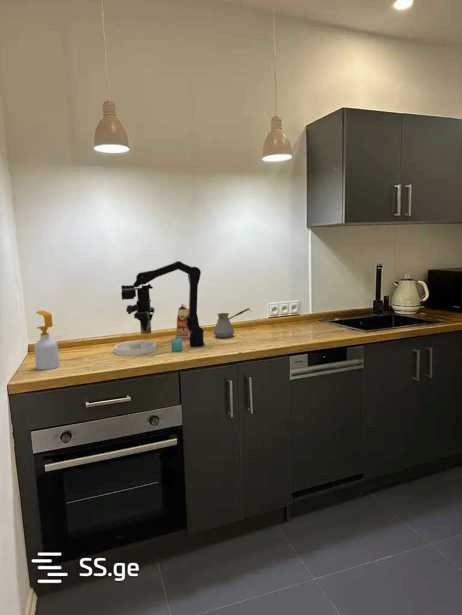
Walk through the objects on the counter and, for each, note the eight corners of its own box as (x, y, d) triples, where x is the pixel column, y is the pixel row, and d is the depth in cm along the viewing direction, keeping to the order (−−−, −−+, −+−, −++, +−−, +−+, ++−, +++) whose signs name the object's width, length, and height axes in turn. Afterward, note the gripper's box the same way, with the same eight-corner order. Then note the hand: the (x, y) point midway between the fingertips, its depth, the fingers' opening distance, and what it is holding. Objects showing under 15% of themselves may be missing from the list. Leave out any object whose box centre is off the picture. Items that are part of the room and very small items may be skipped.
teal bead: (182, 349, 197) (182, 337, 196) (181, 351, 192) (180, 339, 191) (172, 349, 197) (171, 337, 196) (171, 352, 192) (170, 339, 191)
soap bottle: (46, 364, 180) (41, 309, 177) (64, 364, 177) (58, 309, 174) (31, 369, 171) (25, 312, 168) (49, 370, 169) (43, 312, 165)
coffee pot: (215, 339, 216) (214, 312, 214) (212, 335, 227) (210, 309, 225) (254, 336, 221) (253, 309, 219) (248, 332, 232) (247, 306, 230)
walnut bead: (152, 331, 200) (151, 319, 199) (150, 333, 195) (149, 321, 194) (142, 332, 200) (141, 320, 199) (139, 334, 195) (139, 321, 194)
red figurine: (190, 341, 215) (188, 304, 212) (174, 341, 217) (172, 304, 214) (195, 337, 224) (193, 301, 221) (180, 337, 226) (177, 302, 223)
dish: (159, 345, 209) (159, 339, 208) (151, 354, 189) (151, 348, 188) (120, 346, 209) (120, 341, 208) (109, 356, 189) (108, 350, 189)
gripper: (131, 297, 205) (134, 327, 207) (121, 301, 186) (124, 334, 188) (153, 296, 205) (155, 326, 207) (146, 300, 186) (148, 333, 188)
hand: (146, 330), depth 197 cm, fingers closed on walnut bead, 5 cm apart
